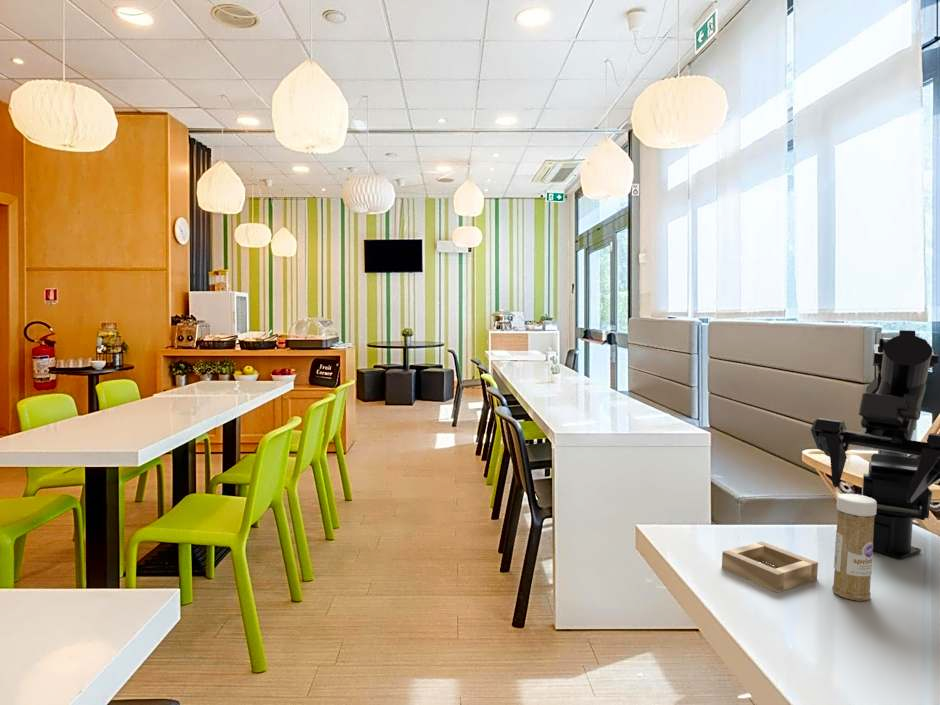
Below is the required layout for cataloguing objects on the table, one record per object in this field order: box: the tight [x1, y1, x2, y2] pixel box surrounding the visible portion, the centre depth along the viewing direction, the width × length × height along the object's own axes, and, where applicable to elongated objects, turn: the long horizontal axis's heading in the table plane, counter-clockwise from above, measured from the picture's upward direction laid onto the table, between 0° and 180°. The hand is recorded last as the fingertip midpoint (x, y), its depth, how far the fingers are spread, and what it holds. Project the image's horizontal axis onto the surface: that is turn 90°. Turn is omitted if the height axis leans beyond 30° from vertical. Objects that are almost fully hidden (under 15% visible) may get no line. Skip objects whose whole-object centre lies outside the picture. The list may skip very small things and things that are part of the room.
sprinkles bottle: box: [831, 493, 877, 602], centre depth 85 cm, size 5×5×13 cm
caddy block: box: [721, 541, 819, 593], centre depth 92 cm, size 9×9×2 cm
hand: (870, 493), depth 89 cm, fingers open, 9 cm apart
